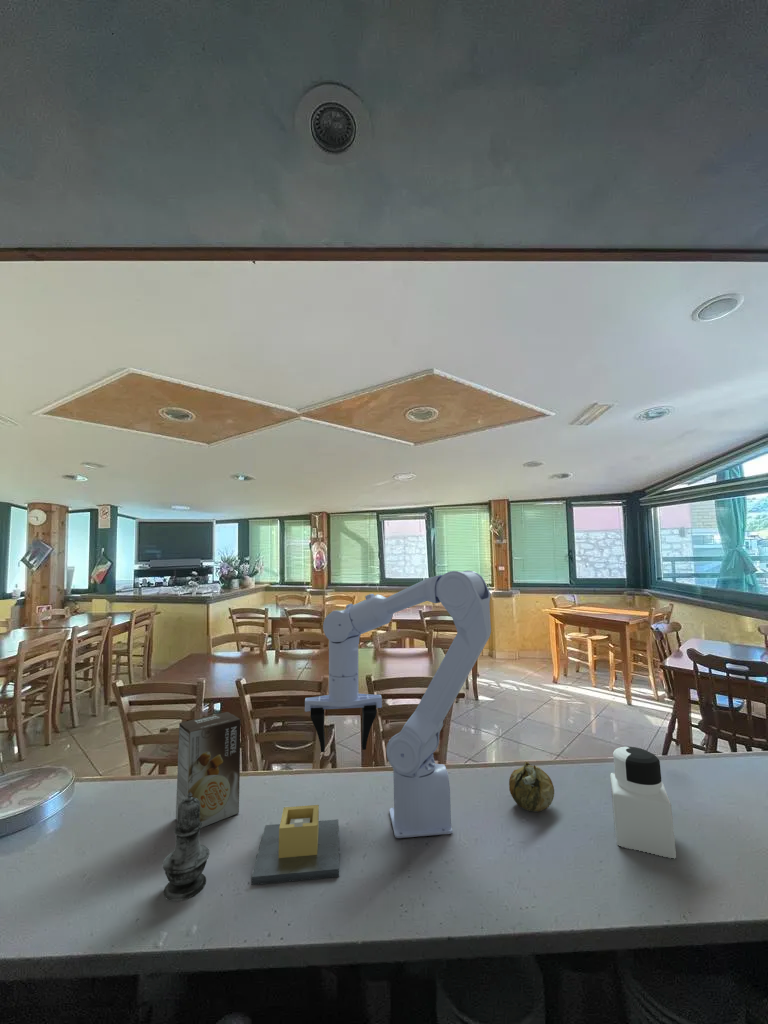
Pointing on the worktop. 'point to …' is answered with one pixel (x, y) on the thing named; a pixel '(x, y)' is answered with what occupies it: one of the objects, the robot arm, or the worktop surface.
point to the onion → (531, 788)
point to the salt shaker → (186, 854)
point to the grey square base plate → (298, 867)
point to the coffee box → (210, 765)
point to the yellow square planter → (299, 831)
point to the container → (641, 803)
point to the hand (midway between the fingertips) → (343, 748)
